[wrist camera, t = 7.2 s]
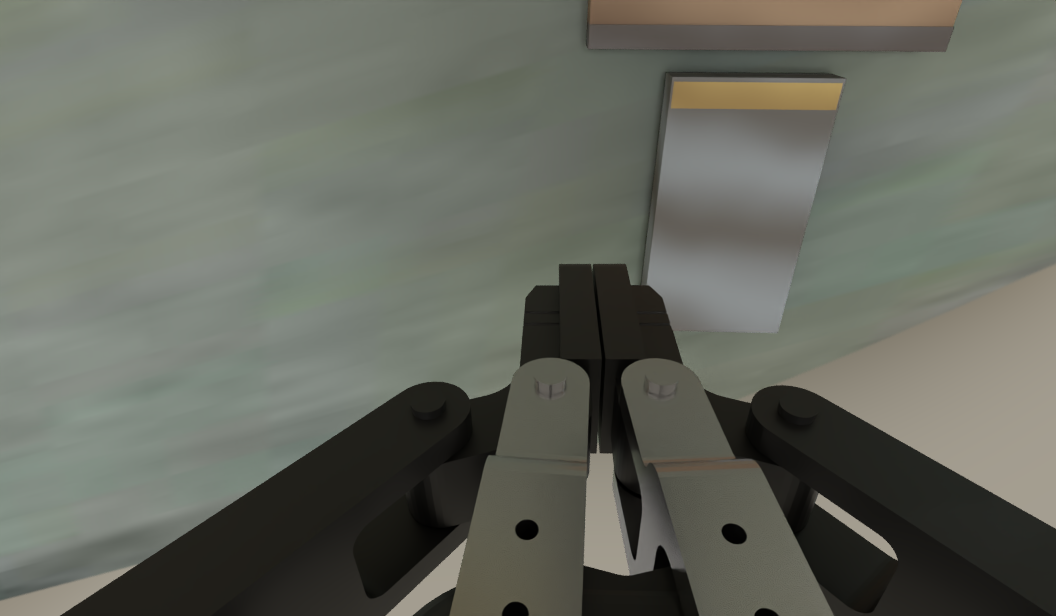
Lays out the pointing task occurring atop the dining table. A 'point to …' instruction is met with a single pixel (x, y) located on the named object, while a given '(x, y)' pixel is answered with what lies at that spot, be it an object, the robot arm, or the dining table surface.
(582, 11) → the dining table surface
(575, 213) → the dining table surface
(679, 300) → the grey flat plate
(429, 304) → the dining table surface
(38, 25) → the dining table surface
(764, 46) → the laid floor board
